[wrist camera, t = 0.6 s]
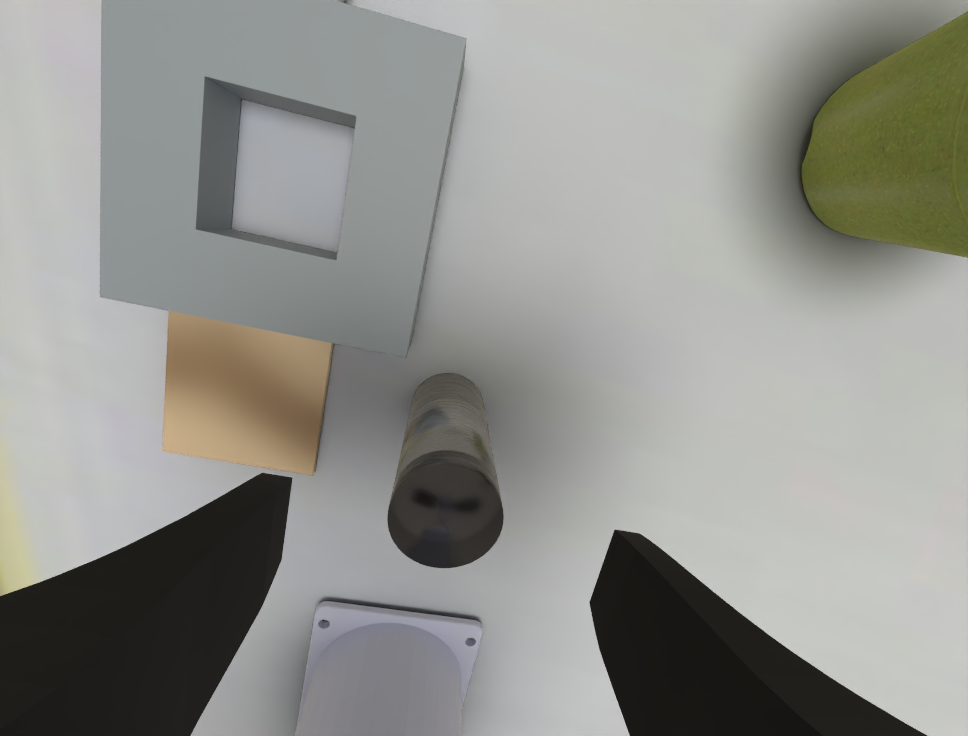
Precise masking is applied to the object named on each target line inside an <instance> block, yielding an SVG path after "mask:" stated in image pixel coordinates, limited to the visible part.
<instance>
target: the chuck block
mask: <svg viewBox="0 0 968 736" xmlns="http://www.w3.org/2000/svg"><path fill="white" fill-rule="evenodd" d="M465 48H466V38H463V37H459V36H456V35H453V34H449V33H446V32H442V31H439V30H435V29H432V28H429V27H425V26H422V25H418V24H415V23H411V22H408V21H405V20H401V19H398V18H394V17H391V16H387V15H384V14H381V13H377V12H374V11H370V10H367V9H363V8H360V7H357V6H353V5H350V4H346V3H344V0H102V20H101V200H100V297H102V298H107V299H112V300H118V301H123V302H128V303H133V304H138V305H143V306H148V307H153V308H158V309H163V310H168V311H173V312H178V313H183V314H188V315H193V316H198V317H203V318H208V319H213V320H218V321H223V322H228V323H233V324H238V325H243V326H248V327H253V328H258V329H263V330H268V331H273V332H278V333H283V334H288V335H294V336H299V337H304V338H309V339H314V340H319V341H324V342H329V343H334V344H339V345H344V346H349V347H354V348H359V349H364V350H369V351H374V352H379V353H384V354H389V355H394V356H399V357H404V358H406V356H407V353H408V350H409V347H410V344H411V341H412V336H413V331H414V326H415V321H416V315H417V310H418V305H419V300H420V294H421V289H422V284H423V279H424V273H425V268H426V263H427V258H428V252H429V247H430V242H431V237H432V231H433V226H434V221H435V216H436V210H437V205H438V200H439V195H440V189H441V184H442V179H443V174H444V168H445V163H446V158H447V153H448V147H449V142H450V137H451V132H452V126H453V121H454V116H455V111H456V106H457V100H458V95H459V90H460V85H461V79H462V74H463V69H464V60H465ZM241 99H244V100H248V101H252V102H256V103H260V104H264V105H268V106H271V107H275V108H279V109H283V110H287V111H291V112H295V113H299V114H302V115H306V116H310V117H314V118H318V119H322V120H326V121H330V122H333V123H337V124H341V125H345V126H349V127H353V128H355V131H354V138H353V145H352V152H351V159H350V167H349V174H348V181H347V188H346V195H345V203H344V210H343V217H342V224H341V231H340V238H339V246H338V253H335V252H331V251H326V250H322V249H317V248H313V247H308V246H304V245H299V244H295V243H291V242H286V241H282V240H277V239H273V238H268V237H264V236H259V235H255V234H250V233H246V232H241V231H237V230H232V229H231V224H232V211H233V198H234V185H235V173H236V160H237V147H238V134H239V121H240V109H241Z"/></svg>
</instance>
